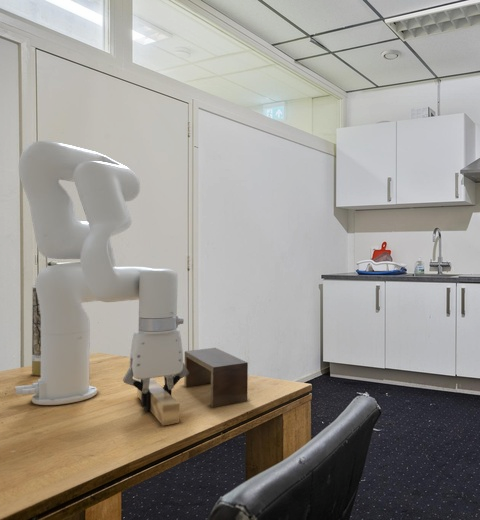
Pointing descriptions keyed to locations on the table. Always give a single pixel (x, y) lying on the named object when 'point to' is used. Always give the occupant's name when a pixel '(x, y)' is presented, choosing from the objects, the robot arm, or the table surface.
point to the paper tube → (36, 335)
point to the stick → (162, 404)
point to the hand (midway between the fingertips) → (156, 407)
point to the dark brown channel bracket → (218, 375)
